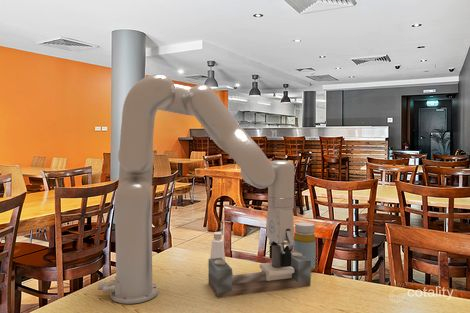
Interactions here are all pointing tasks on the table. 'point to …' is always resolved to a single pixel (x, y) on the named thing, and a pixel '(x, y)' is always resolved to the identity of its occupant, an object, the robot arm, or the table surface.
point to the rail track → (255, 278)
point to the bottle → (305, 241)
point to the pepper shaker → (217, 246)
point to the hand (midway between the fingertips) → (279, 261)
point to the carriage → (276, 266)
